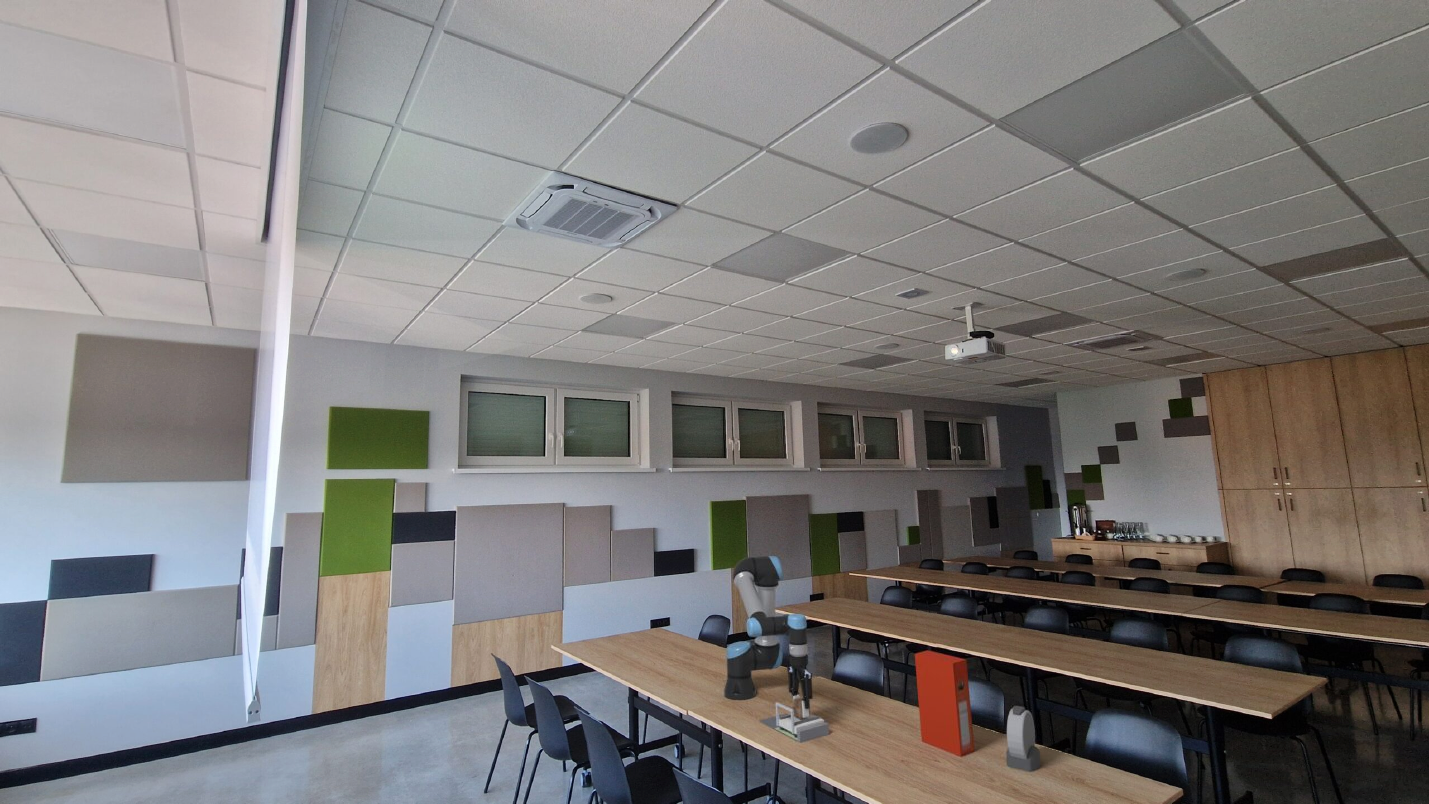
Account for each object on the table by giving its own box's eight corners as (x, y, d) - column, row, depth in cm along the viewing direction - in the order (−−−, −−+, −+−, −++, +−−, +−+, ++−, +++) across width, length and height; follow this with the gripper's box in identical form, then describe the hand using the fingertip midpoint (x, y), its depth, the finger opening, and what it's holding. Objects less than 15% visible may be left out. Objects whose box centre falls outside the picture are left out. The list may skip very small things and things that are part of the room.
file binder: (960, 757, 222) (952, 662, 227) (921, 741, 237) (914, 653, 241) (974, 751, 226) (966, 659, 231) (935, 736, 241) (928, 649, 245)
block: (792, 714, 252) (792, 699, 253) (802, 712, 255) (801, 696, 256) (800, 718, 248) (799, 702, 249) (810, 715, 251) (809, 699, 251)
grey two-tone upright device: (1014, 751, 226) (1009, 698, 228) (1045, 758, 219) (1039, 703, 222) (1001, 767, 213) (996, 710, 216) (1034, 775, 207) (1028, 716, 209)
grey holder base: (759, 721, 262) (758, 711, 263) (786, 714, 270) (786, 704, 270) (800, 742, 239) (799, 731, 239) (829, 734, 246) (828, 723, 247)
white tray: (775, 729, 252) (773, 701, 253) (803, 721, 259) (802, 694, 261) (795, 739, 241) (793, 710, 242) (824, 731, 248) (823, 703, 250)
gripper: (778, 651, 261) (780, 710, 257) (805, 660, 245) (808, 723, 242) (792, 648, 264) (795, 706, 261) (820, 657, 249) (823, 719, 246)
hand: (801, 714), depth 251 cm, fingers closed on block, 5 cm apart
